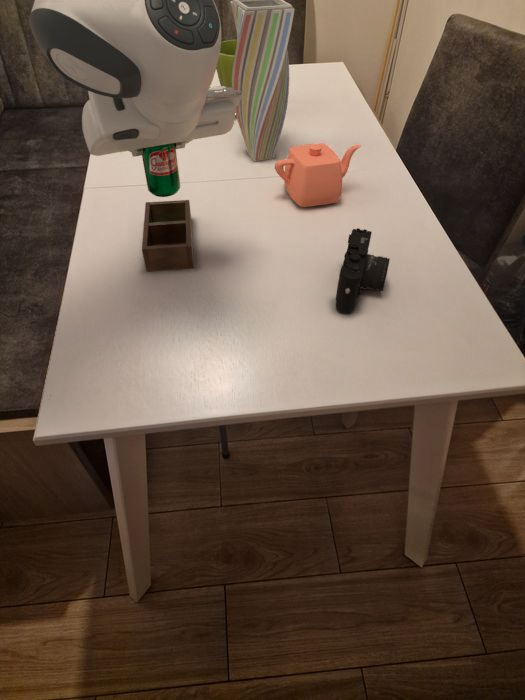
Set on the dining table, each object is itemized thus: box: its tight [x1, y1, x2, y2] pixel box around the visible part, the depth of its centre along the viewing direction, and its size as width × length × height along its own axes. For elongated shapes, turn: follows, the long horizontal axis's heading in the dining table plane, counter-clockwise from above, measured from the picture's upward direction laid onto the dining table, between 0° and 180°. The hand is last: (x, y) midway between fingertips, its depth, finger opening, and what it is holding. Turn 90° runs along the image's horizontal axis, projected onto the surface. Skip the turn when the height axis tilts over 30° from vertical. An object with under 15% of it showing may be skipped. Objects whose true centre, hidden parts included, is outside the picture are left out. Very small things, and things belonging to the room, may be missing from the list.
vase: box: [230, 0, 295, 162], centre depth 104 cm, size 14×14×30 cm
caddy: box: [141, 199, 195, 272], centre depth 87 cm, size 8×15×4 cm, turn 7°
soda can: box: [141, 143, 181, 198], centre depth 72 cm, size 5×5×12 cm
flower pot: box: [216, 39, 237, 119], centre depth 126 cm, size 15×15×16 cm
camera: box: [335, 227, 390, 315], centre depth 77 cm, size 14×7×8 cm, turn 164°
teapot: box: [274, 142, 362, 208], centre depth 98 cm, size 12×18×10 cm, turn 106°
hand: (156, 147), depth 72 cm, fingers closed on soda can, 5 cm apart
